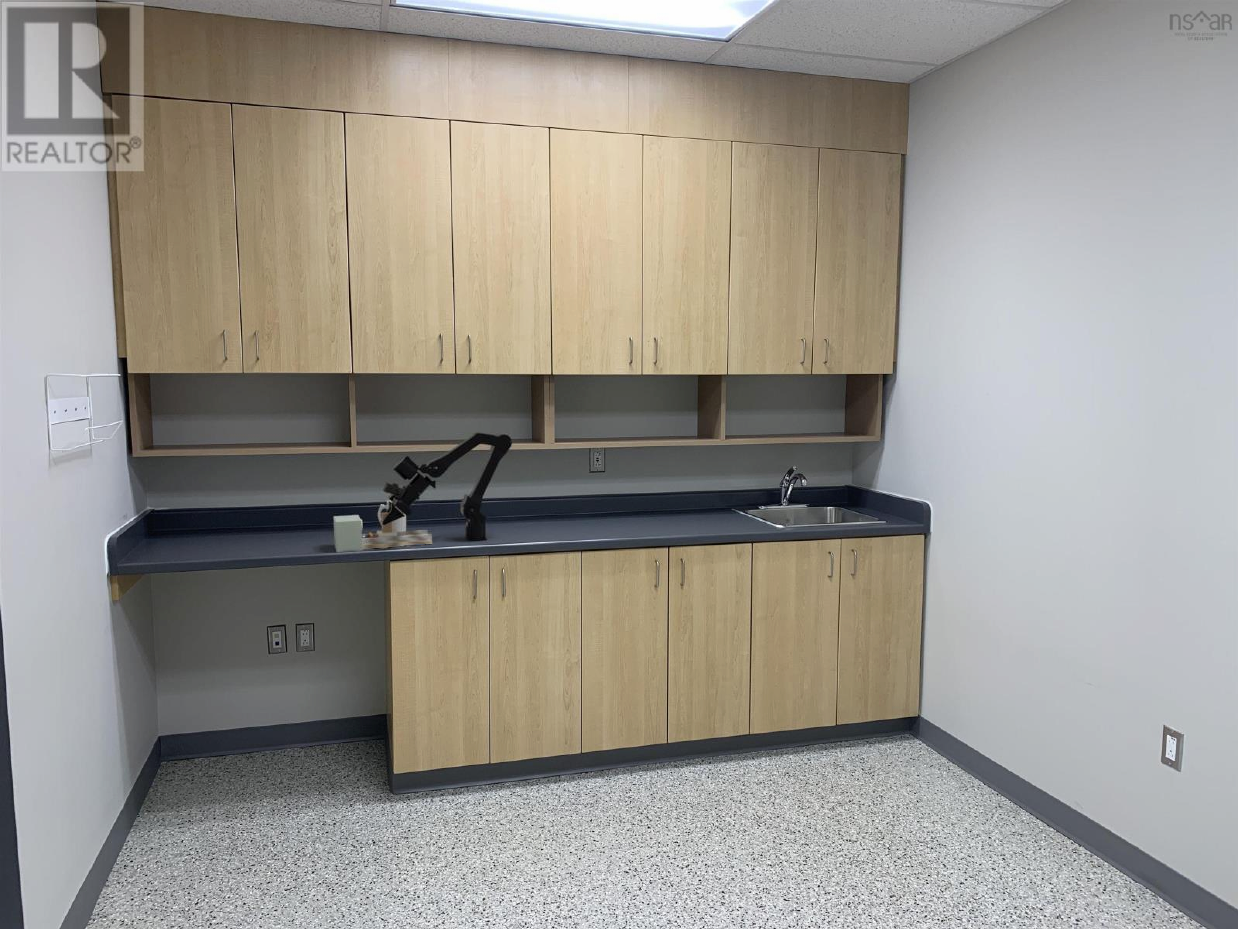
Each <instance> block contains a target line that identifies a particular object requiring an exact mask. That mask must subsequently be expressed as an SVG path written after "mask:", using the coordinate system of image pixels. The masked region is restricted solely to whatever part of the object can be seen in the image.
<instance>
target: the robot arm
mask: <svg viewBox="0 0 1238 929" xmlns="http://www.w3.org/2000/svg"><path fill="white" fill-rule="evenodd" d="M479 445H486V446H490V448H489V455H488V457H487V459H486V461H485V463H484V466H483V468H482V470H481V471H480V474H479V476H478V478H477V481H476V482H475V485H474V487H473V489H472V491H471V492H470V493H468V494H467V493H464V495H463V497H462V498H463V499H462V500H461V502H460V503H459V505H460V509H459V510H460V513H461V515H463V516H464V517H465V518H466V520H467V521H465V526H464V538H465V540H467V541H469V542H473V541H474V542H475V541H484V540H485V541H487V540H488V538H487V536H486V535H487V534H486V533H487V530H486V528H487V527H486V519H487V518H486V516H485V515H484V514H483V513H482V512H481V508H482V504H483V498H484V495H485V494H486V491H487V489H488V487H489V484H490V482H491V480H492V478H493V476H494V474H495V472H496V469H497V467H498V466H499V464H500V461H501V460H502V459H503V458H504V456H506V455H507V453H508V451H509V450H510V448H511V447H512V446H513V441H512V438H511V437H510V436H509V435H508V434H505V433H503V432H502V433H497V434H491V433H484V432H480V431H475V432H473V434H472V435H470V436H468V437H467V438H466V439H464V440H463V441H462V442H460V443H459V444H458V445H456V446H455V447H453V448H452V449H450V450H449V451H448V452H446V453H445V454H442V455H439V456H437V457H435V458H433V459H430V460H428V461H427V462H426V463H424V464H422V463H421V464H416V463H415V461H413V460H412V458H410V456H408V455H405V456H404V457H403V458H402V459H400V460H399V461H397V462H396V463H395V465H394V466H393V467H392V470H393V472H394V473H396V474H397V475H398V476H399V477H400V478H402V479H403V480H404V481H406V480H408V481H410V482H409V483H407V485H403V486H402V487H401V486H400V485H399V484H398V483H396V482H393V483H392V482H388V481H386V482H385V484H384V486H383V488H382V491H383V492H384V493H386V494H390V495H389V496H388V497H387V499H388V500H391V502H390V501H388V500H387V501H388V502H389V508H388V510H387V509H386V512H389V513H388V515H387V516H386V518H385V519H384V520H383V522H382V520H381V522H382V524H383V525H386V524H388V523H390V522H392V521H395V520H397V519H399V518H402V517H405V515H406V518H409V517H410V516H411V515H412V514H413V510H412V505H413V504H414V503H415V502H416V501H419V500H420V497H421V496H422V495H423V494H424V492H425V491H426V490H427V489H428V488H429V487H431V488H433V489H436V485H437V484H436V482H437V481H436V479H437V478H440V477H441V476H442V475H443V474H445V472H446V471H448V469H450V467H451V466H452V465H453V464H454V463H455V462H456V461H458V460H460V459H461V458H462V457H463V456H465V455H466V454H468V453H469V452H470V451H472V450H473V449H474V448H476V447H477V446H479ZM419 471H420V472H421V473H422V474H425V475H424V476H423V475H422V474H421V473H420V472H419ZM430 477H431V478H430ZM432 478H434V479H433V480H432ZM404 514H405V515H404Z"/></svg>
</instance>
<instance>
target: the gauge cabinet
mask: <svg viewBox="0 0 1238 929" xmlns="http://www.w3.org/2000/svg"><path fill="white" fill-rule="evenodd" d="M362 531H363V519H361V518H360V515H359V514H352V515H337V516H336V515H335V516H333V533H334V534H333V539H334V540H333V541H334V542H333V543H334V548H335V551H336V553H345V552H358V551H361V552H362V551H363V550H362V534H363V532H362Z"/></svg>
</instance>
